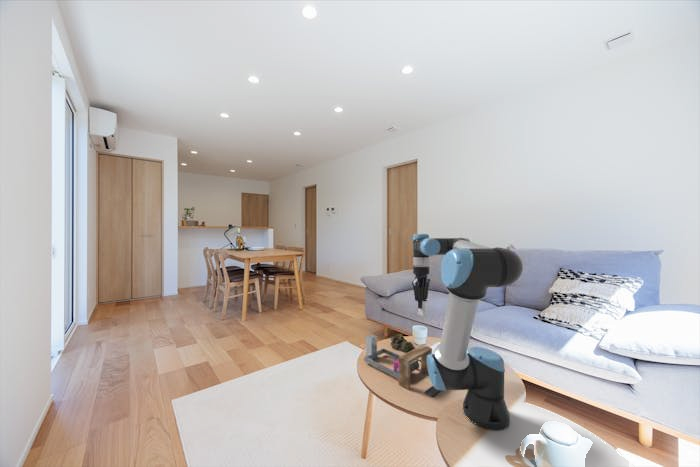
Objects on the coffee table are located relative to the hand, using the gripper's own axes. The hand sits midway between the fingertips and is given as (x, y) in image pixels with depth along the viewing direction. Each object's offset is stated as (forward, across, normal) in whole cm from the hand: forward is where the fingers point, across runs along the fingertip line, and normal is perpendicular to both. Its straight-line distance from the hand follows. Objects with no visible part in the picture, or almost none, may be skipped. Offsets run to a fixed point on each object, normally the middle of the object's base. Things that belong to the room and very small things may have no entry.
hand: (421, 314), depth 130 cm
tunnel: (+27, +9, +2) cm, 28 cm away
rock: (+26, -13, -20) cm, 36 cm away
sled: (+26, +9, -14) cm, 31 cm away
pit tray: (+27, +10, +13) cm, 31 cm away
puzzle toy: (+27, +10, -4) cm, 29 cm away
